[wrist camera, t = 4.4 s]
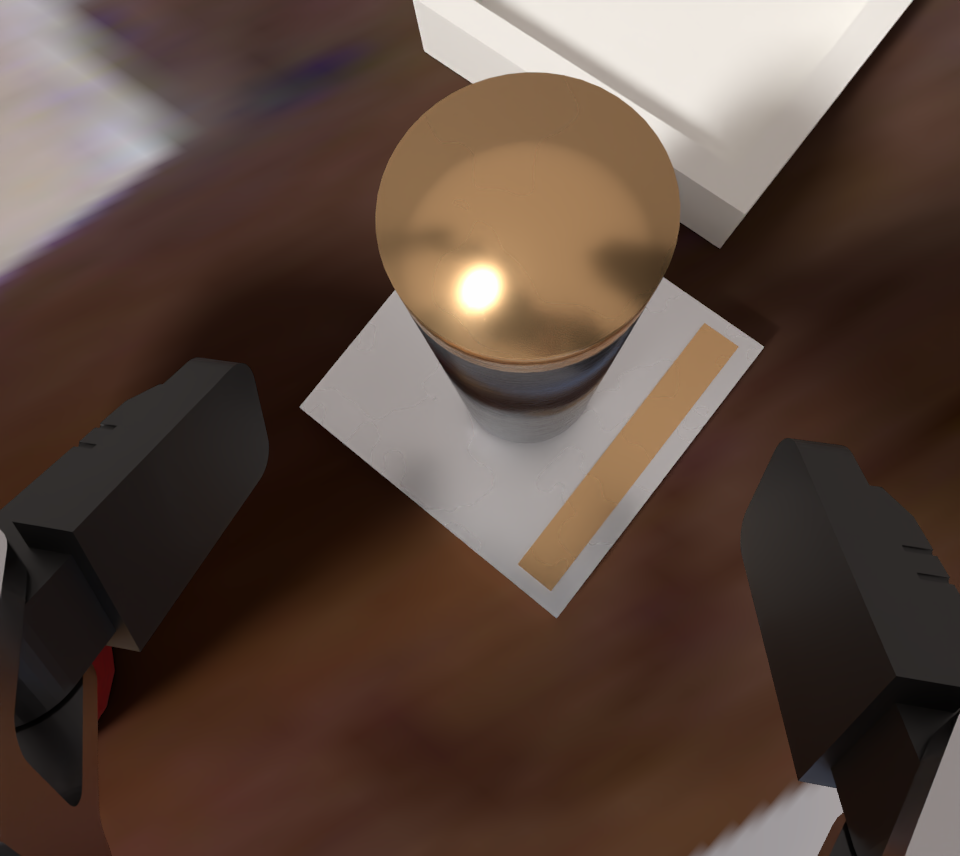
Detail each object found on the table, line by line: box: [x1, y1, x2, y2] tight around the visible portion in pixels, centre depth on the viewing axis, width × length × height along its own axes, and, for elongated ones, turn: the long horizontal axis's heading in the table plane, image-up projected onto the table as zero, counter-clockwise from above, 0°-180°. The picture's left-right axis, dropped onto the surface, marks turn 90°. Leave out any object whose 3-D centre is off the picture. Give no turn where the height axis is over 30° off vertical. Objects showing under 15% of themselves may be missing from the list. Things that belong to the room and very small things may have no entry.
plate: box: [300, 277, 764, 618], centre depth 18 cm, size 10×10×1 cm
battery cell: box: [375, 72, 680, 443], centre depth 13 cm, size 4×4×10 cm
